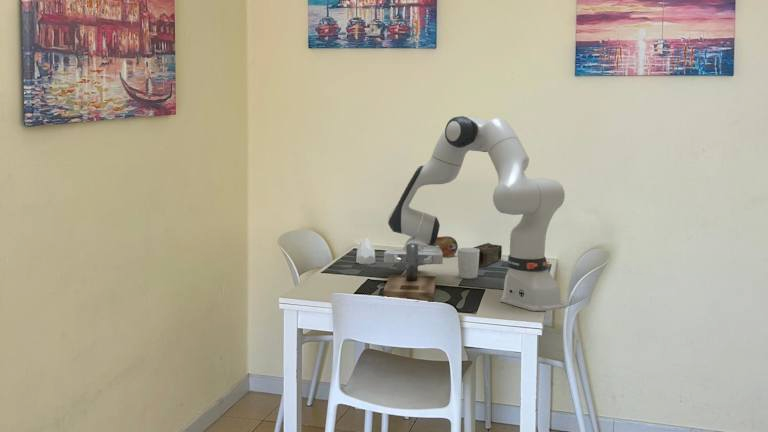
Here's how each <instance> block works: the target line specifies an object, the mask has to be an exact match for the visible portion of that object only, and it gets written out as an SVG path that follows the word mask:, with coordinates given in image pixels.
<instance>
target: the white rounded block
mask: <svg viewBox="0 0 768 432" xmlns="http://www.w3.org/2000/svg"><path fill="white" fill-rule="evenodd" d="M355 255H356V257H355V263H356V264H358V263H359V264H358V265H374V264H376V251H375V247H374V245H373V243H372V241H371V240H370V239H369V238H367V237H364V238H363V239H362V240H361V241H360V242H359V244H358V246H357V248H356V254H355Z"/></svg>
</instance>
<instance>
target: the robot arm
mask: <svg viewBox="0 0 768 432" xmlns="http://www.w3.org/2000/svg"><path fill="white" fill-rule="evenodd" d="M469 151H472V152H483V153H486V152H487V154H488V156H489V158H490V161H491V162H492V165H493V166H494V169H495V171H496V174H497V178H498V182H497V186H496V187H495V188H494V189H493V195H492V202H493V205H494V207H495V208H496V210H497V211H498V212H499V213H501V214H505V215H510V216H520V215H522V217H521V219H520V221H519V223H517V225H516V226H514V227H513V228H512V230H511V231H510V238H509V255H508V259H507V267H508V270H507V273H506V274H505V278H504V285H503V294H502V296H501V297H500V298H499V302H500V303H501V302H502V303H504V304H507V305H511V306H514V307H517V308H521V309H525V310H528V311H533V312H548V311H555V310H556V311H557V310H563V309H566V308H568V307H569V303H567V302H566V301H564V300H563V299H561V296H562V295H561V293H562V292H561V288H560V284H559V283H558V282H557V281H556V280H555V279H554V277H553V276H552V275H551V273H550V271H549V270H548V269H549V268H548V267H549V266H550V264H549V263H550V261H547V258H546V256H545V254H546V252H545V251H546V240H547V239H546V238H547V237H546V236H547V232H548V228H549V225H550V222H551V220H552V218H553V216H554V215H555V213H556V212H557V211H558V210H559V209H560V208H561V206H563V204H564V201H565V195H566V194H565V189H564V187H563V184H561V182H560V181H557V180H554V179H551V178H545V177H544V178H543V177H542V178H528V177H527V176H526V174H525V171H526V170H527V168H528V166H529V163H530V158H529V156H528V154H527V152H526V150H525V148H524V146H523V145H522V143H521V141H520V138H519V136H518V135H517V132H515V130H514V129H513V128H512V126H511V124H510V123H508V122H507V121H506V119H504V118H502V117H493V118H491V119H489V120H484V119H482V118H481V119H480V118H478V117H472V116H471V117H470V116H464V115H462V116H455V117H452V118H451V119H450V120H448V122H447V123H446V125H445V128H444V131H443V132H442V133H441V134H440V136H439V138H438V140H437V143H436V144H435V147H434V148H433V151H432V154H431V157H430V158H429V160H428V161H427V162H426V164H423V165H420V166H418V167H417V168H416V170H415V172H414V173H413V175H412V177H411V179H409V182H408V184H407V185H406V187H405V189H404V191H403V192H402V194H401V197H400V198H399V201H398V202H397V204H396V205H395V206H394V208H392V210H391V212H390V214H389V215H388V220H387V221H388V222H387V224H388V226H389V228H390V229H391V231H392V232H393V233H397V234H401V235H402V234H403V235H405V236H408V237H409V239H407V240H406V242H405V244H404V245H403V248H402V249H397V248H396V249H395V248H394V249H387V250H385V251H384V253H383V262H384V263H386V264H406V245H407V244H417V245H418V267H420V266H426V265H442V264H444V263H443V259H444V257H443V253H442V250H441V249H439V246H438V245H434V244H435V242H436V239H437V237H439V230H440V221H439V219H438V217H437V216H434V215H432V214H429V213H426V212H424V211H423V212H422V211H421V210H416V209H413V208H412V207H410V204H411V202H412V200H413V199H414V197H415V195H416V193H417V192H418V190H419V189H420V188H421V187H423V186H424V187H425V186H429V185H431V186H432V185H443V184H448V183H451V182H452V181H454V180H455V179H456V178H457V177H458V175H459V173H460V170H461V168H462V165H463V163H464V159H465V157H466V154H467V153H468V152H469Z"/></svg>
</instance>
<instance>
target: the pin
mask: <svg viewBox="0 0 768 432" xmlns="http://www.w3.org/2000/svg"><path fill="white" fill-rule="evenodd" d="M418 273H419V266H418V245H417V244H407V245H406V263H405V275H406V281H418V276H419V275H418Z"/></svg>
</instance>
